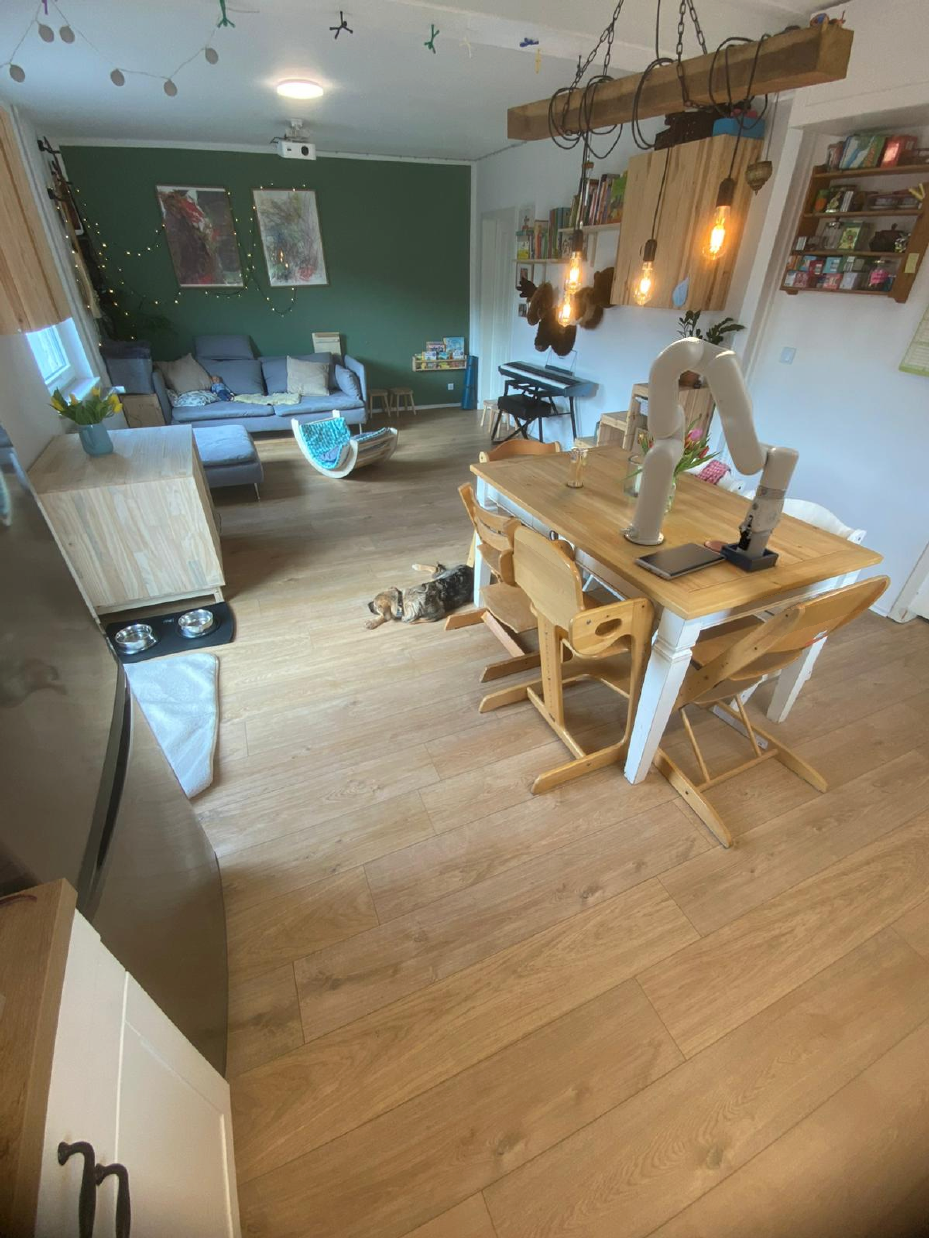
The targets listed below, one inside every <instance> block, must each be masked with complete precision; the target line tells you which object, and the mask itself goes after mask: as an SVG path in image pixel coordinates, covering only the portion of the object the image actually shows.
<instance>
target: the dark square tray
mask: <svg viewBox="0 0 929 1238" xmlns="http://www.w3.org/2000/svg"><path fill="white" fill-rule="evenodd" d="M738 543H739V541H736V542H732V543H728V544H727V545H722V548H721V551H720V552H719V554H721V555H723V556H725V557H726V558H725V560H724V561H725V562H727V563H730V564H732V565H733V566H735V567H737V568H739V569H741V570H743V571H745V572H746V573H753V572H756V571H760V570H764V569H768V568H772V567H775V566H776V564H777V561H778V559H779V557H780V556H779V555H780V553H777V552H775V551H774V550H771V549H769V548H767V547H765V550H764V553H763V555H762V557H758V558H754V559H751V558H749V557H747V556H745V555H743V554H741V553H739V552H737V551H736V550H737V547H738Z"/></svg>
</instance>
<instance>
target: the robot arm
mask: <svg viewBox="0 0 929 1238" xmlns="http://www.w3.org/2000/svg"><path fill="white" fill-rule="evenodd" d="M742 367H743V359H742V358H741V356H740V355H739V354H738V353H737V352H735V351H733V350H731V349H728V348H725V347H722V346H720V345H717V344H714V343H711V342H709V341H706V340H703V339H700V338H698V337H693V336H692V337H691V336H690V337H685V338H682V339H679V340H677V341H675V342H673V343H671V344H670V345H668V346H667V347H666V348H664V349H663V350H662V351H661V352H660V353H659V354H658V355H657V356H656V357H655V359H654V360H653V362H652V364H651V366H650V369H649V373H648V387H647V388H648V389H647V420H646V421H647V422H646V424H647V431H648V433H649V435H650V436H651V437H653V445H652V446H651V447H650V448H649V449H648V451H647V452H646V454H645V456H644V459H643V463H642V470H641V471H642V472H641V478H640V484H639V489H638V494H637V499H636V503H635V508H634V513H633V518H632V522H631V523H629V526H628V527H626V528H623V529H620V530H619V535H620V536H625V538H626V539H627V540H628V541H630V542H632V543H635V544H639V545H645V546H656V545H659V544H662V543H663V542H664V540H665V536H664V535H663V534H662V533H661V530H662V527H663V523H664V518H665V515H666V510H667V506H668V502H669V498H670V493H671V489H672V484H673V480H674V474H675V471H676V467H677V465H678V464H679V463H680V461H682V458H683V456H684V452H685V435H686V434H685V433H686V413H685V410H684V408H683V406H682V405H681V404H680V403H679V393H680V390H679V389H680V388H679V380H680V377H681V375H682V374H683V373H685V372H688V371H689V372H692V373H695V374H696V375H699V376H702V377H705V378H706V382H707V384H708V388H709V391H710V394H711V396H712V398H713V401H714V405H715V407H716V410H717V413H718V416H719V419H720V424H721V428H722V431H723V434H724V439H725V442H726V445H727V449H728V452H729V454H730V457H731V460H732V463H733V465H734V468H735V469H736V470H737V472H738V473H739V474H741V475H743V476H754V475H756V474H758V473H760V472H761V471H762V473H761V476H760V479H759V482H758V485H757V487H756V492H755V495H754V497H753V499H752V500H751V502H750V504H749V507H748V510H747V512H746V515H745V517H744V520H743V522H742V523H740V524H739V526H738V530H739V535H740V538H739V541H738V542H739V543H738V548H740V549H742V550H744V551H747V549H748V547H749V544H750V541H751V539H750V537H751V536H752V534H753V533H754V532H761V531H764V530H769V529H770V530H769V531H770V533H771V534H770V535H772V534H773V532H774V531H773V530H775V529H776V528H777V527H778V525H779V523H780V521H781V518H782V517H781V516H782V513H783V509H784V505H785V501H786V500H785V499H786V497H785V496H786V493H787V490H788V488H789V485H790V482H791V481H792V477H793V474H794V472H795V469H796V466H797V464H798V461H799V458H800V453H799V451H798V450H796V449H794V448H791V447H785V446H774V445H771V444H768V443H764V442H760V441H759V439H758V435H757V433H756V428H755V423H754V404H753V400H752V398H751V395H750V392H749V389H748V387H747V383H746V381H745V377H744V374H743V372H742ZM751 526H752V528H750V527H751ZM747 530H751V531H750V532H749V533H748V532H747Z"/></svg>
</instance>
